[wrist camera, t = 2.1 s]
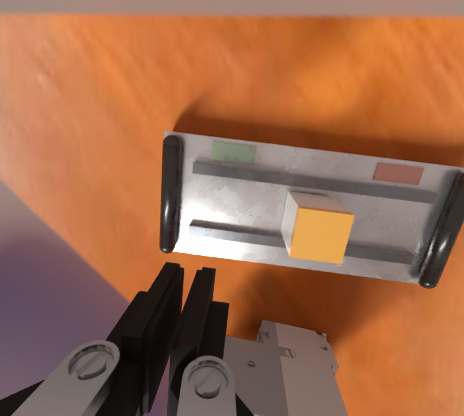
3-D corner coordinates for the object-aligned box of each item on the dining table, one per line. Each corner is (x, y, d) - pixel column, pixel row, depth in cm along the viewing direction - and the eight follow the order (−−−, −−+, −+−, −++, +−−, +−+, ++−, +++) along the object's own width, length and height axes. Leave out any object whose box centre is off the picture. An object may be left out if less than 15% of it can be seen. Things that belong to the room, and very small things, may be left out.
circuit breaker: (214, 308, 31) (185, 458, 17) (325, 333, 31) (391, 503, 17) (203, 354, 34) (170, 520, 19) (307, 377, 34) (352, 560, 19)
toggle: (330, 196, 23) (354, 215, 18) (321, 235, 25) (341, 264, 19) (288, 190, 23) (299, 208, 18) (280, 230, 25) (289, 257, 19)
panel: (453, 165, 25) (492, 172, 21) (413, 272, 28) (440, 295, 24) (172, 131, 25) (158, 130, 21) (167, 239, 29) (154, 256, 25)
